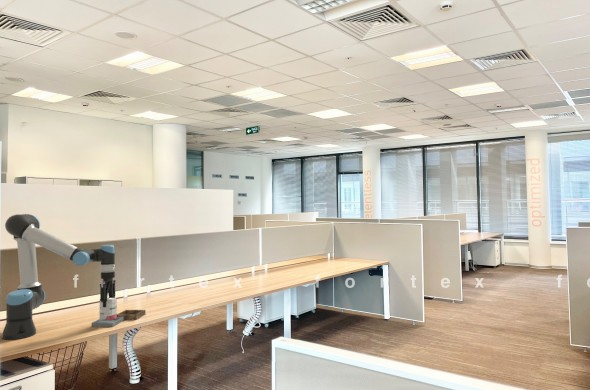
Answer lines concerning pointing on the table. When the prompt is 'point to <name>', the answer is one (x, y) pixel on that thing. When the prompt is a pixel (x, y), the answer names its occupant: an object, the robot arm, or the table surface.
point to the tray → (107, 322)
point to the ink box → (109, 309)
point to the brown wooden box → (132, 314)
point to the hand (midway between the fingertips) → (108, 311)
